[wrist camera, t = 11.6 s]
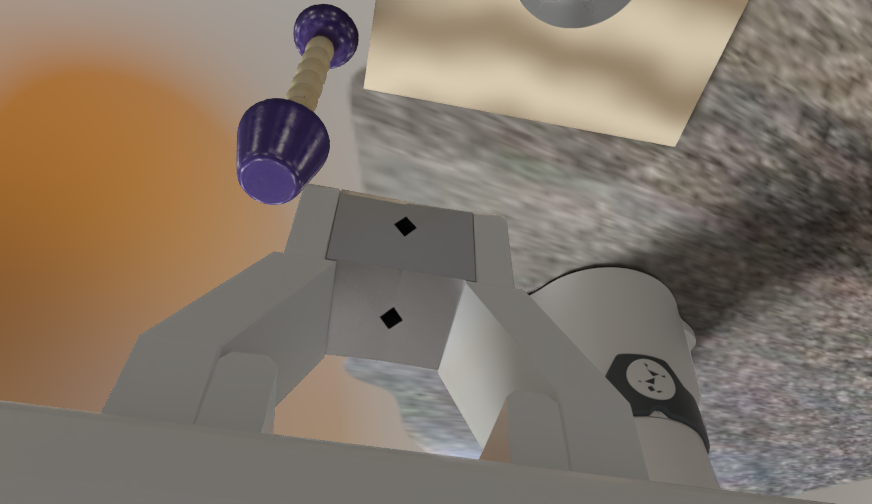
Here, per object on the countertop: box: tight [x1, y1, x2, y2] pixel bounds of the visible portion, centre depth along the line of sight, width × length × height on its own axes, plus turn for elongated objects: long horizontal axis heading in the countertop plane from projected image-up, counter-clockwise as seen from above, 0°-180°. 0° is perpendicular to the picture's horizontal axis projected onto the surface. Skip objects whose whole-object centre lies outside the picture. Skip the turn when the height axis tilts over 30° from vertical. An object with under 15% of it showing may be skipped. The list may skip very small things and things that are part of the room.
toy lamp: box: [237, 4, 358, 205], centre depth 37 cm, size 5×5×17 cm
